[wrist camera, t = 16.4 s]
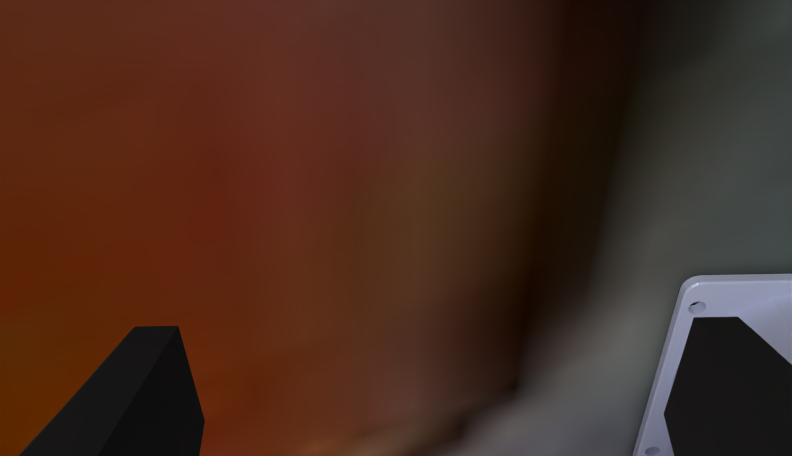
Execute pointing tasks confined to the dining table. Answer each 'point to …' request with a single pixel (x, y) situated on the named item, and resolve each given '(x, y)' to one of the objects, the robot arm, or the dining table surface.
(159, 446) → the robot arm
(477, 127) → the dining table surface
